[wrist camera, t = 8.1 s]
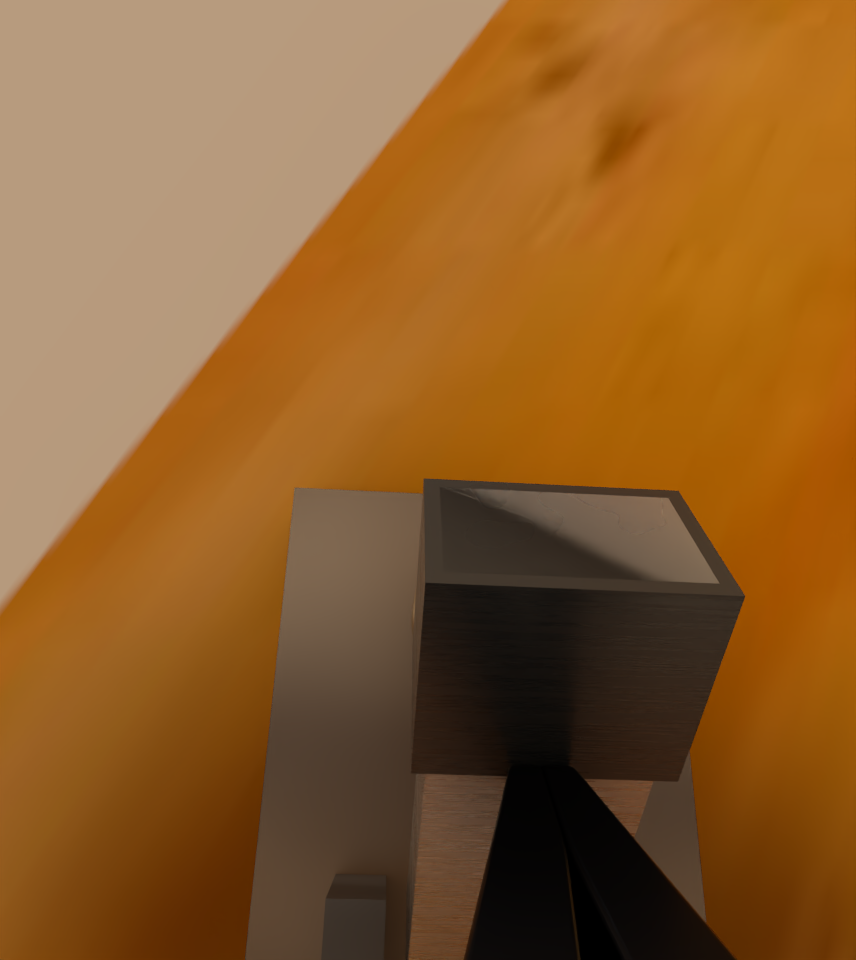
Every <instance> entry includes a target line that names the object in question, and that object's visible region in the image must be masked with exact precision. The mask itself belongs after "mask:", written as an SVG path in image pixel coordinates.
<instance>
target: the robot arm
mask: <svg viewBox="0 0 856 960" xmlns="http://www.w3.org/2000/svg"><path fill="white" fill-rule="evenodd" d="M463 960H737V959H736V958H735V956H734V955H733V954H732V953H731V952H730V951H729V949H728V948H727V947H726V946H725V945H724V943H723V942H722V941H721V940H720V939H719V938H718V936H717V935H716V934H715V933H714V932H713V930H712V929H711V928H710V927H709V926H708V925H707V923H706V922H705V921H704V920H703V919H702V917H701V916H700V915H699V914H698V913H697V912H696V910H695V909H694V908H693V907H692V906H691V904H690V903H689V902H688V901H687V900H686V899H685V897H684V896H683V895H682V894H681V893H680V891H679V890H678V889H677V888H676V887H675V886H674V884H673V883H672V882H671V881H670V880H669V878H668V877H667V876H666V875H665V874H664V873H663V871H662V870H661V869H660V868H659V867H658V865H657V864H656V863H655V862H654V861H653V860H652V858H651V857H650V856H649V855H648V854H647V852H646V851H645V850H644V849H643V848H642V847H641V845H640V844H639V843H638V842H637V841H636V839H635V838H634V837H633V836H632V835H631V834H630V832H629V831H628V830H627V829H626V828H625V826H624V825H623V824H622V823H621V822H620V821H619V819H618V818H617V817H616V816H615V815H614V813H613V812H612V811H611V810H610V809H609V808H608V806H607V805H606V804H605V803H604V802H603V800H602V799H601V798H600V797H599V796H598V795H597V793H596V792H595V791H594V790H593V789H592V788H591V786H590V785H589V784H588V783H587V782H586V780H585V779H584V778H583V777H582V776H581V775H580V773H579V772H578V771H577V770H576V769H574V768H573V767H570V766H544V767H543V768H540V767H539V766H536V765H512V766H510V767H509V769H508V773H507V777H506V781H505V785H504V790H503V794H502V798H501V802H500V807H499V811H498V815H497V819H496V824H495V828H494V832H493V836H492V840H491V845H490V849H489V853H488V857H487V862H486V866H485V870H484V874H483V879H482V883H481V887H480V891H479V896H478V900H477V904H476V908H475V913H474V917H473V921H472V925H471V929H470V934H469V938H468V942H467V946H466V951H465V955H464V959H463Z"/></svg>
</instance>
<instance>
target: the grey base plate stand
mask: <svg viewBox="0 0 856 960" xmlns="http://www.w3.org/2000/svg"><path fill="white" fill-rule="evenodd" d="M422 498H423V494H417V493H396V492H375V491H354V490H333V489H312V488H295V491H294V500H293V510H292V519H291V529H290V538H289V548H288V557H287V566H286V576H285V585H284V595H283V604H282V614H281V623H280V633H279V642H278V652H277V661H276V671H275V680H274V689H273V699H272V708H271V718H270V727H269V737H268V746H267V756H266V765H265V775H264V784H263V794H262V803H261V812H260V822H259V831H258V841H257V850H256V860H255V869H254V879H253V888H252V898H251V907H250V917H249V926H248V935H247V945H246V954H245V960H405V958H406V891H407V879H408V866H409V854H410V842H411V830H412V817H413V805H414V793H415V780H416V774H411V708H412V644H413V634H412V625H411V617H412V608H413V602H414V597H415V592H416V586H417V571H418V556H419V542H420V527H421V512H422ZM634 838H635V839H636V841H637V842H638V843H639V844H640V845H641V847H642V848H643V849H644V850H645V851H646V852H647V854H648V855H649V856H650V857H651V858H652V860H653V861H654V862H655V863H656V864H657V865H658V867H659V868H660V869H661V870H662V871H663V873H664V874H665V875H666V876H667V877H668V878H669V880H670V881H671V882H672V883H673V884H674V886H675V887H676V888H677V889H678V890H679V891H680V893H681V894H682V895H683V896H684V897H685V899H686V900H687V901H688V902H689V903H690V904H691V906H692V907H693V908H694V909H695V910H696V912H697V913H698V914H699V915H700V916H701V917H702V919H703V920H704V921H705V922H706V914H705V904H704V893H703V883H702V873H701V863H700V853H699V843H698V832H697V822H696V812H695V802H694V792H693V781H692V771H691V761H690V751H689V753H688V755H687V758H686V761H685V764H684V766H683V769H682V772H681V775H680V778H679V780H678V782H668V781H653V784H652V787H651V790H650V793H649V796H648V799H647V802H646V805H645V808H644V811H643V814H642V817H641V820H640V822H639V825H638V828H637V831H636V834H635V837H634Z"/></svg>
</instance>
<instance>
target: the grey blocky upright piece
mask: <svg viewBox="0 0 856 960" xmlns="http://www.w3.org/2000/svg"><path fill="white" fill-rule="evenodd" d="M744 598H745V595H744V594H743V592H742V590H741V589H740V587H739V586H738V584H737V583H736V581H735V579H734V578H733V576H732V575H731V573H730V572H729V570H728V568H727V567H726V565H725V564H724V562H723V561H722V559H721V557H720V556H719V554H718V553H717V551H716V550H715V548H714V546H713V545H712V543H711V542H710V540H709V539H708V537H707V535H706V534H705V532H704V531H703V529H702V527H701V526H700V524H699V523H698V521H697V520H696V518H695V516H694V515H693V513H692V512H691V510H690V509H689V507H688V505H687V504H686V502H685V501H684V499H683V498H682V496H681V494H680V493H679V491H669V490H648V489H627V488H607V487H586V486H565V485H545V484H524V483H503V482H483V481H462V480H441V479H424V483H423V498H422V512H421V527H420V542H419V556H418V571H417V586H416V600H415V615H414V630H413V644H412V708H411V774H416V780H415V793H414V805H413V817H412V830H411V842H410V854H409V866H408V879H407V891H406V958H405V960H463V959H464V955H465V951H466V946H467V942H468V938H469V934H470V929H471V925H472V921H473V917H474V913H475V908H476V904H477V900H478V896H479V891H480V887H481V883H482V879H483V874H484V870H485V866H486V862H487V857H488V853H489V849H490V845H491V840H492V836H493V832H494V828H495V824H496V819H497V815H498V811H499V807H500V802H501V798H502V794H503V790H504V785H505V781H506V777H507V773H508V769H509V767H510V766H512V765H536V766H539V767H540V768H543V767H544V766H570V767H573V768H574V769H576V770H577V771H578V772H579V773H580V775H581V776H582V777H583V778H584V779H585V780H586V782H587V783H588V784H589V785H590V786H591V788H592V789H593V790H594V791H595V792H596V793H597V795H598V796H599V797H600V798H601V799H602V800H603V802H604V803H605V804H606V805H607V806H608V808H609V809H610V810H611V811H612V812H613V813H614V815H615V816H616V817H617V818H618V819H619V821H620V822H621V823H622V824H623V825H624V826H625V828H626V829H627V830H628V831H629V832H630V834H631V835H632V836H633V837H635V834H636V831H637V828H638V825H639V822H640V820H641V817H642V814H643V811H644V808H645V805H646V802H647V799H648V796H649V793H650V790H651V787H652V784H653V781H668V782H678V780H679V778H680V775H681V772H682V769H683V766H684V764H685V761H686V758H687V755H688V753H689V750H690V747H691V744H692V742H693V739H694V736H695V733H696V731H697V728H698V725H699V722H700V719H701V717H702V714H703V711H704V708H705V706H706V703H707V700H708V697H709V695H710V692H711V689H712V686H713V684H714V681H715V678H716V675H717V673H718V670H719V667H720V664H721V661H722V659H723V656H724V653H725V650H726V648H727V645H728V642H729V639H730V637H731V634H732V631H733V628H734V626H735V623H736V620H737V617H738V614H739V612H740V609H741V606H742V603H743V601H744Z"/></svg>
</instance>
